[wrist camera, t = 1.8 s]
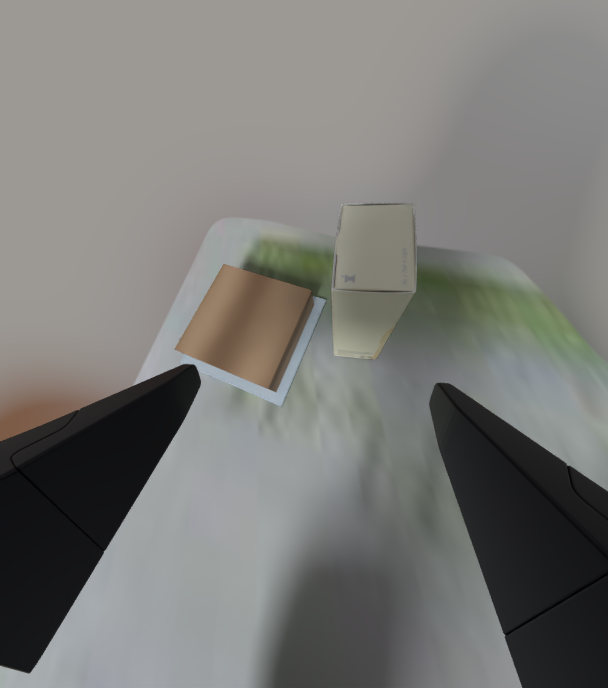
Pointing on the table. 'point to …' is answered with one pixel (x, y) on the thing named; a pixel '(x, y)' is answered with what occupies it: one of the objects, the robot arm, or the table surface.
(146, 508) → the table surface
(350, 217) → the skincare box
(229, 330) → the walnut plinth
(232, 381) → the plan sheet
